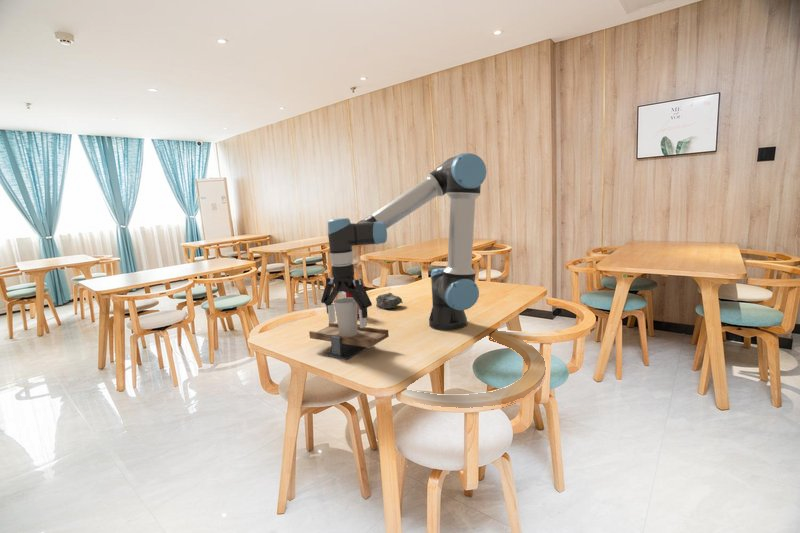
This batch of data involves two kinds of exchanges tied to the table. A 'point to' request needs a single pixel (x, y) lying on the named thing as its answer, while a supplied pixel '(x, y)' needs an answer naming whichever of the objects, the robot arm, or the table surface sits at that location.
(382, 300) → the rock
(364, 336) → the beam
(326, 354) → the pivot stand
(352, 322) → the cup
